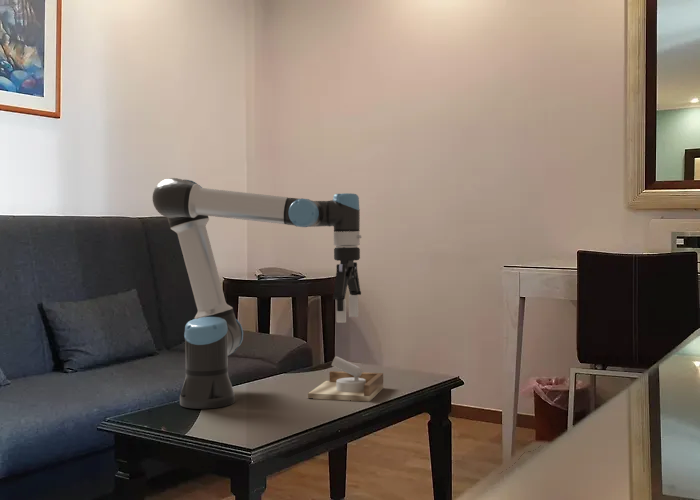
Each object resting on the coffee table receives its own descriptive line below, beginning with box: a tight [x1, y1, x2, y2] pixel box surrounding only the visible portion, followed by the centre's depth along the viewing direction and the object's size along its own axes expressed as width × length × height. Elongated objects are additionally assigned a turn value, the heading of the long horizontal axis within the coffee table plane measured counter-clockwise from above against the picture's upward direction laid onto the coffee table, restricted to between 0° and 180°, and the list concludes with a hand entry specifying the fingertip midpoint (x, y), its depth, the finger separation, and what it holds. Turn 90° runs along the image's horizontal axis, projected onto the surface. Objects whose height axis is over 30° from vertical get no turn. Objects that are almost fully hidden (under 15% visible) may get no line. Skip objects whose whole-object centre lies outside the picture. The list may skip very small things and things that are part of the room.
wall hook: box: [331, 355, 366, 392], centre depth 220 cm, size 9×10×10 cm
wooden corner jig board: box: [307, 370, 384, 402], centre depth 221 cm, size 18×18×4 cm
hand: (347, 319), depth 220 cm, fingers open, 13 cm apart
